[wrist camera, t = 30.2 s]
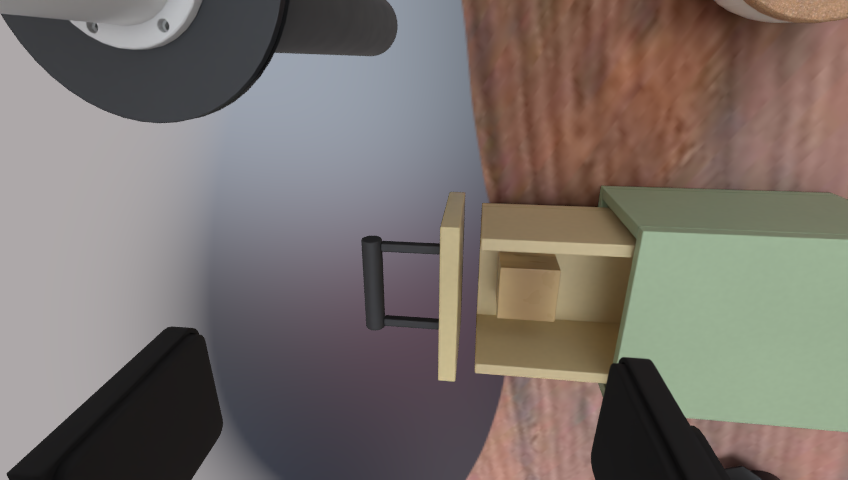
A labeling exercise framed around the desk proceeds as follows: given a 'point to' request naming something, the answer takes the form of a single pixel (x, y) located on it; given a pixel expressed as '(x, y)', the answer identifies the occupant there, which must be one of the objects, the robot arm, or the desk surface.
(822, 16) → the trinket box
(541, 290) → the block
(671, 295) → the box
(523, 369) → the drawer
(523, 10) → the desk surface
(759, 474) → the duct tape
